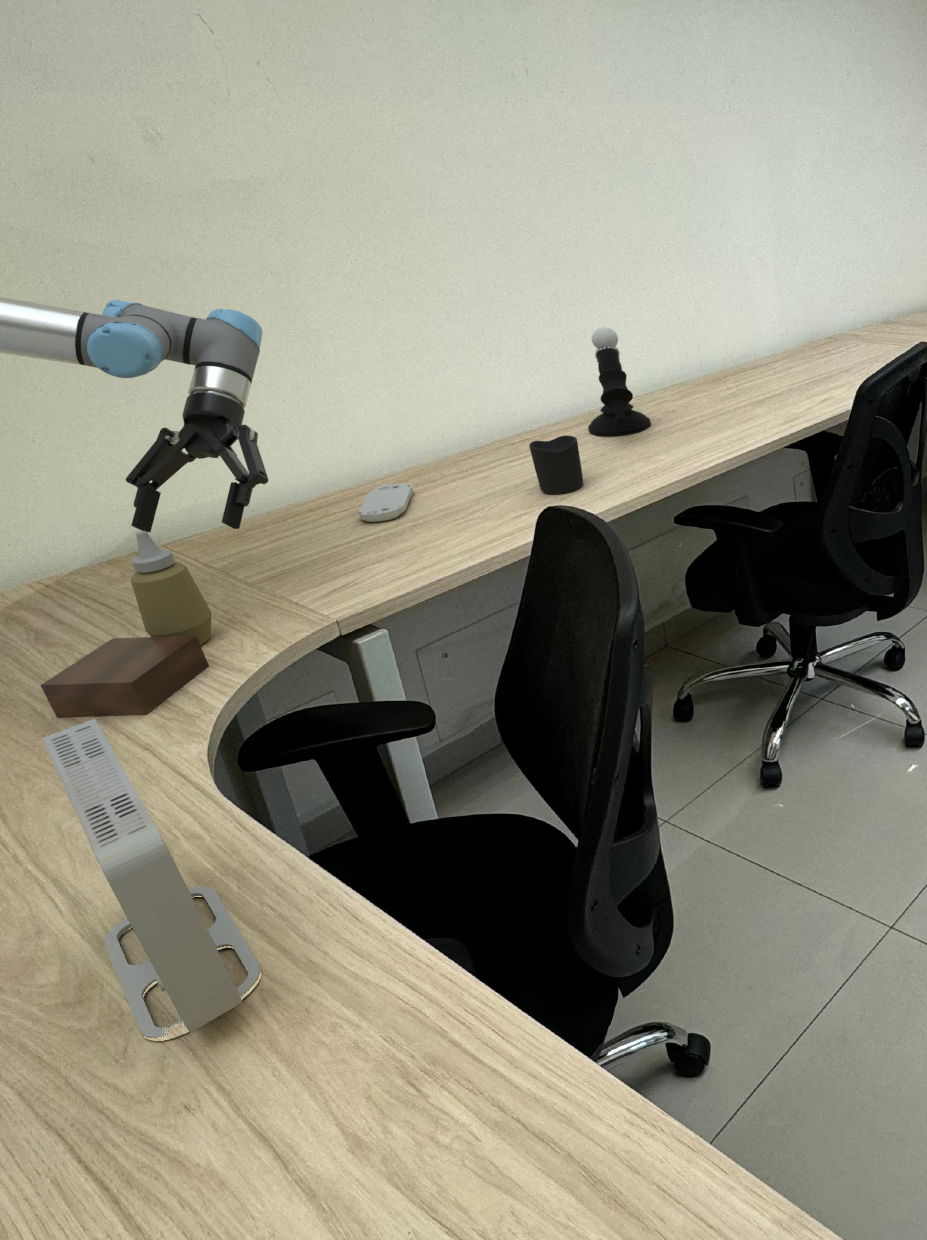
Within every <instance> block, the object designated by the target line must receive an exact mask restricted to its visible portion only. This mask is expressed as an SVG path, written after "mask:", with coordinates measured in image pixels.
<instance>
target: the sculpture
mask: <svg viewBox="0 0 927 1240" xmlns="http://www.w3.org/2000/svg"><path fill="white" fill-rule="evenodd" d="M618 342H619V337H618V334H617V332H616V331H615V330H614V329H613V328H610V327H607V326H601V327H598V328H596V329H595V330H594V331H593V332H592V334H591V343H592V344H593V347H595V348H596V349H595V353H594V357H595V359H596V362H597V366H598V373H599V376H598V382H599V383H600V385H601V387H602V393H601V396H600V402H601V404H603V406H602V407H601V408H600V412H601V413H600V414H598V415H597V416H596V417H595V418H593V420H591V422H590V423H589V424H588V427H587V428H588V433H589V434H590V435H592V436H596V437H621V436H629V435H633V434H636V433H640V432H643V431H645V430H648V428H650V427H651V426H652V423H651V419H650V417H648V416H646V415H645V414H644V413H642V412H640V411H637V410H635V409H633V408H634V405H632V404H631V401H632V400H633V398H634V395H633V393H632V391H631V390H630V389H628V386H627V378H628V377H627V373H626V371H624V370H623V367H622V364H621V361H620V360H621V359H620V355H621V353H620V350H619V349H618V347H617V345H618Z"/></svg>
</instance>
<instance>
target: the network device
mask: <svg viewBox="0 0 927 1240" xmlns="http://www.w3.org/2000/svg"><path fill="white" fill-rule="evenodd" d="M102 730H103V729H102V728H101V727H100V725H99V724H98V722H97V720H96V719H95V718H93V719H90V720H88V721H84V722H83V723H80V724H77V725H74V726H72V727H68V728H65V729H62V730H59V731H57V732H55V733H52V734H50V735H49V734H48V735H46V736H44V737H41V738H42V742H43V744H44V746H45V749H46V751H47V753H48V755H49V758H50V760H51V762H52V764H53V766H54V769H55V770H56V772H57V775H58V777H59V780H60V782H61V784H62V786H63V788H64V791H65V792H66V794H67V797H68V799H69V801H70V804H71V806H72V808H73V811H74V812H75V815H76V817H77V819H78V821H79V824H80V825H81V828H82V830H83V832H84V835H85V837H86V840H87V841H88V843H89V845H90V848H91V850H92V852H93V854H94V857H95V859H96V861H97V863H98V865H99V867H100V869H101V871H102V873H103V875H104V877H105V879H106V881H107V883H108V885H109V886H110V889H111V890H112V892H113V894H114V896H115V898H116V901H118V903H119V906H120V908H121V909H122V911H123V913H124V914H125V918H124V919H123V920H121V921H120V922H119V923H117V924H116V925H115V926H114V927H113V928H111V930H110V931H109V933H108V934H107V935H106V937H105V940H104V942H103V943H104V944H103V945H104V949H105V951H106V954H107V956H108V958H109V961H110V963H111V965H112V969H113V971H114V973H115V975H116V978H117V980H118V983H119V986H120V988H121V990H122V992H123V995H124V996H125V1000H126V1002H127V1004H128V1007H129V1009H130V1013H131V1014H132V1017H133V1019H134V1021H135V1024H136V1027H137V1028H138V1031H139V1033H140V1032H141V1033H140V1034H141V1036H142V1035H143V1036H145V1037H147V1038H158V1037H162V1036H163V1037H164V1034H165V1036H166V1033H164V1032H165V1028H166V1029H167V1028H168V1026H169V1025H167V1026H156V1024H155V1022H153V1021H154V1019H153V1017H152V1015H150V1014H151V1012H150V1010H149V1008H148V1005H147V1003H146V1001H144V1000H145V998H144V999H143V994H144V992H145V991H146V989H147V988H148V986H150V985H151V984H152V983H153V982H155V981H157V983H158V984H157V985H158V986H159V988H160V990H161V992H162V993H164V992H165V991H166V993H167V995H168V997H169V998H170V1000H171V1002H172V1004H173V1006H174V1008H175V1010H176V1011H177V1013H178V1015H179V1018H180V1020H178V1021H179V1022H180V1024H182V1023H184V1027H185V1026H186V1028H187V1029H188V1031H189V1033H188V1034H191V1033H192V1032H194V1031H196V1030H198V1029H199V1028H201V1027H203V1026H204V1025H206V1024H208V1023H210V1022H212V1021H214V1020H215V1019H216V1018H218V1017H220V1016H222V1015H223V1014H226V1013H227V1012H229V1011H231V1010H232V1009H234V1008H236V1007H237V1006H239V1005H241V1004H242V1003H243V1001H242V1000H241V997H240V996H243V994H245V993H246V992H247V991H249V989H250V988H251V987H252V986H253V985H254V984H255V982H256V981H257V980H258V978H259V975H260V972H261V970H262V967H261V965H260V963H259V961H258V959H257V958H256V955H255V954H254V952H253V950H252V949H251V948H250V946H249V944H248V943H247V941H246V940H245V938H244V936H243V934H242V933H241V931H240V929H239V928H238V926H237V923H236V922H235V921H234V919H233V918H232V916H231V914H230V913H229V911H228V909H227V907H226V906H225V904H224V903H223V901H222V899H221V897H220V896H219V894H218V892H217V891H216V890H215V889H214V888H212V887H210V886H194V887H193V886H192V887H189V888H188V886H187V884H186V882H185V880H184V878H183V876H182V874H181V872H180V870H179V868H178V865H177V864H176V861H175V860H174V858H173V855H172V854H171V851H170V849H169V848H168V846H167V844H166V842H165V840H164V838H163V836H162V834H161V832H160V831H159V829H158V827H157V825H156V824H155V821H154V820H153V818H152V817H151V815H150V813H149V811H148V809H147V808H146V806H145V804H144V802H143V801H142V799H141V797H140V795H139V793H138V792H137V790H136V788H135V787H134V784H133V783H132V781H131V780H130V778H129V776H128V773H126V770H125V769H124V767H123V766H122V763H121V762H120V760H119V758H118V756H117V755H116V753H115V751H114V750H113V748H112V746H111V744H110V743H109V741H108V739H107V737H106V735H105V734H104V732H103V731H102ZM194 896H202V897H203V898H202V899H204V900H205V902H206V904H207V903H208V904H207V905H208V907H209V909H210V910H212V911H211V913H212V914H213V916H214V917H216V918H215V921H214V923H213V924H212V925H211V926H210V927H209V928H208V926H207V925H206V923H205V921H204V918H203V917H202V915H201V913H200V911H199V908H198V907H197V905H196V903H195V901H194V898H193V899H192V897H194ZM131 927H132V930H133V931H134V934H135V936H136V937H137V939H138V941H139V942H140V944H141V947H142V948H143V950H144V952H145V953H146V956H147V958H148V960H147V961H145V962H143V963H139V964H129V962H127V961H128V959H127V957H126V955H125V952H124V950H123V948H122V946H120V945H121V943H120V941H119V938H120V937H121V935H122V934H123V933H124V932H126V931H127V930H128V929H129V928H131ZM127 932H128V931H127ZM127 932H126V933H127ZM123 935H124V934H123ZM121 938H122V937H121ZM121 938H120V939H121ZM224 946H226V947H227V946H231V947H233V948H234V950H235V951H234V950H233V951H234V952H235V954H236V953H237V954H236V955H238V956H237V957H238V959H239V961H240V960H241V961H240V963H241V964H242V966H243V965H244V966H243V968H244V967H245V968H244V969H245V971H246V973H247V972H248V973H247V976H246V978H245V980H244V981H243V982H242V983H241V984H240V985H238V986H236V985H235V983H234V981H233V978H232V976H231V975H230V972H229V971H228V968H227V966H226V963H225V962H224V960H223V957H222V956H221V954H220V951H218V950H217V948H220V947H224ZM123 952H124V953H123ZM126 959H127V960H126ZM260 967H261V968H260ZM145 1003H146V1004H145ZM146 1005H147V1006H146ZM148 1010H149V1011H148ZM149 1012H150V1013H149ZM151 1017H152V1018H151ZM152 1019H153V1020H152ZM178 1021H176V1022H174V1023H173V1024H171V1025H173V1026H174V1025H175V1023H176V1024H179V1023H177V1022H178ZM182 1021H183V1022H182ZM181 1022H182V1023H181ZM154 1024H155V1025H154ZM180 1027H181V1025H180ZM163 1028H164V1030H163ZM171 1028H172V1027H171ZM181 1028H182V1027H181ZM169 1029H170V1027H169ZM162 1031H163V1033H162ZM166 1032H167V1030H166ZM168 1032H169V1030H168ZM161 1035H162V1036H161ZM167 1035H168V1033H167ZM143 1036H142V1037H143Z"/></svg>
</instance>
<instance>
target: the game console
mask: <svg viewBox="0 0 927 1240" xmlns="http://www.w3.org/2000/svg"><path fill="white" fill-rule="evenodd" d="M413 491H414V489H413V485H412V484H410V483H408V482H407V483H406V482H404V483H403V482H400V483H392V484H391V483H390V484H384V485H381V486H377V487H374V488H373V490H371V491H370V490H369V491H368V492H367V494H366V496H365V497H364V500H363V502H362V504H361V505H360V507H359V509H358V511H357V512H358V518H359V519H360V520H363V521H365V522H367V523H368V522H369V523H379V522H387V521H391V520H395V519H397V518H398V517H400V516H401V515H402V514H403V513H404V512H405V511H406V509H407V507H408V505H409V502H410V500H411V497H412V495H413Z"/></svg>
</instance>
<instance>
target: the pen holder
mask: <svg viewBox="0 0 927 1240" xmlns="http://www.w3.org/2000/svg"><path fill="white" fill-rule="evenodd" d="M528 447H529V451H530V454H531V459H532V463H533V467H534V470H535V474H536V478H537V481H538V486H539V489H540V491H541V492H542V493H544V494H547V495H563V494H568V493H569V494H570V493H573V492H575V491H578V490H579V489H581V488H582V487H583V485H584V477H583V470H582V469H583V468H582V462H581V456H580V450H579V442H578V438H577V437H576V436H573V435H559V436H557V437H555V438H553V439H550V440H533V441H531V442H530V443H529V445H528Z"/></svg>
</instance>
